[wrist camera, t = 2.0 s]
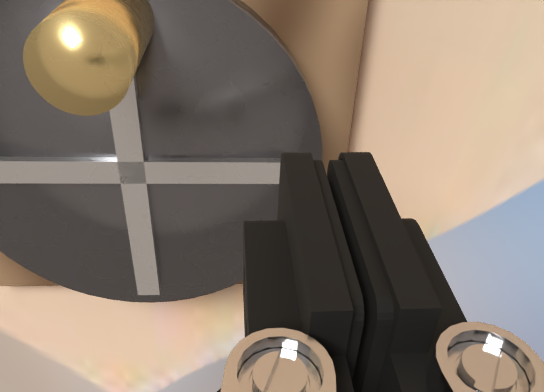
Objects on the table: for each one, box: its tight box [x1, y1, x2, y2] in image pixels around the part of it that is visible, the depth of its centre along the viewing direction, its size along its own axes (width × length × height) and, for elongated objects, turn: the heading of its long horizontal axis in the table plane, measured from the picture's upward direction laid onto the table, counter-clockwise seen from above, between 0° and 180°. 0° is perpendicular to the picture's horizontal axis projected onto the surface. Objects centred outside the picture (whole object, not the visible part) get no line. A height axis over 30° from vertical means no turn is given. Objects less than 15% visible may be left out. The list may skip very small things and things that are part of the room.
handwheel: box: [0, 0, 323, 302], centre depth 23 cm, size 18×18×9 cm
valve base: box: [0, 0, 368, 286], centre depth 28 cm, size 22×22×2 cm
